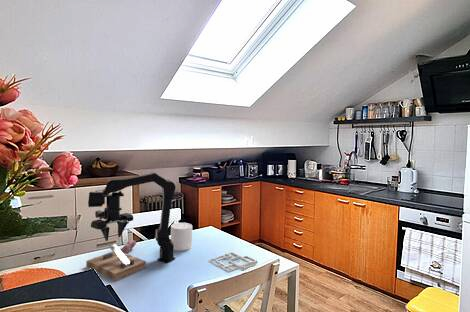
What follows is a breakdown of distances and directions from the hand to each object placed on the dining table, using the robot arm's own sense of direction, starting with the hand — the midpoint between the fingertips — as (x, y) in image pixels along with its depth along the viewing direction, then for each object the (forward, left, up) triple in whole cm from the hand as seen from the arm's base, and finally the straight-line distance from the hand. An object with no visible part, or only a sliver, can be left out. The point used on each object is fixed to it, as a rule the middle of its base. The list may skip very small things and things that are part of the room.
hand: (113, 238), depth 140 cm
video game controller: (+9, -15, -13) cm, 22 cm away
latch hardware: (-4, 0, -10) cm, 11 cm away
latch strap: (-5, 0, -7) cm, 9 cm away
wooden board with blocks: (-3, 0, -13) cm, 13 cm away
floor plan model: (-45, -41, -14) cm, 62 cm away
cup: (-9, -37, -13) cm, 40 cm away
